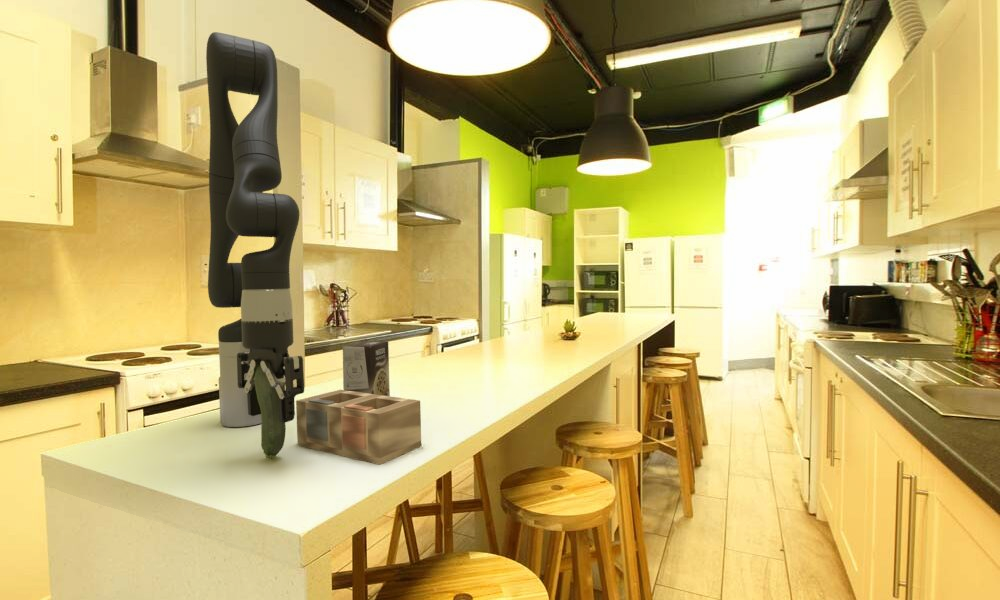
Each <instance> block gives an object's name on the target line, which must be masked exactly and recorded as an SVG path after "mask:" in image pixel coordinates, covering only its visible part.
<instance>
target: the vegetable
mask: <svg viewBox="0 0 1000 600" xmlns="http://www.w3.org/2000/svg"><path fill="white" fill-rule="evenodd" d="M282 378H285V376H283V377H282ZM282 378H281V379H282ZM283 388H284V390H286V386H285V385H283ZM255 389H256V394H257V399H258V403H259V406H260V410H261V419H262V423H261V424H260V425H261V427H260V428H261V430H260V431H261V432H260V433H261V435H260V436H261V444H260V445H261V449H262V451H263V454H264V456H265V459H268V460H273V459H275V458H276V456H277V455H278V454H279V453H280V452H281V451H282V450H283V447H284V444H285V439H286V429H287V428H286V422H285V423H284V422H280V421H279V399H280V398H279V395H278V393H277V391H276V389H275V388H273V387H272V386H271V385H270V382H269V380H268V378H267V376H266V373H265V372H263V370H262V368H261V365H259V367H258V368H257V370H256V373H255Z"/></svg>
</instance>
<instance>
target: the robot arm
mask: <svg viewBox="0 0 1000 600" xmlns="http://www.w3.org/2000/svg"><path fill="white" fill-rule="evenodd" d="M205 54H206V55H205V56H206V57H205V58H206V62H205V63H206V77H207V78H206V79H207V93H208V109H209V130H210V131H209V140H210V141H209V161H208V191H209V192H208V193H209V216H210V217H209V218H210V219H209V220H210V235H209V236H210V237H209V238H210V241H209V258H208V272H207V273H208V275H207V293H208V299H209V302H210V303H211V305H212V306H213V307H214V308H221V309H222V308H223V309H226V308H227V309H229V308H240V317H241V318H240V319H238V320H236V321H233V322H231V323H228V324H225V325H222V326H221V327H220V328H219V329H218V331H217V332H218V334H217V335H218V337H217V338H218V355H219V356H218V358H219V375H220V376H219V377H218V390H219V391H218V393H219V395H218V396H219V397H218V398H219V414H220V415H219V416H220V417H219V418H220V419H219V421H220V423H221V425H222V426H224V427H228V428H242V427H250V426H255V425H258V424H259V425H261V424H262V419H261V410H260V406H259V403H258V399H257V394H256V389H255V373H256V370H257V368H258V367H259V365H261V368H262V370H263V372H265V373H266V376H267V378H268V380H269V382H270V385H271V386H272V387H273V388H275V389H276V391H277V393H278V395H279V398H280V399H279V421H280V422H284V423H285V424H286V423H289V422H291V421H294V419H295V416H296V414H295V413H296V410H295V409H296V408H295V405H296V404H295V397H296V396H298V395H300V394H304V392H305V376H304V375H305V374H304V359H303V356H302V355H295V356H290V354H289V351H288V349H289V347H291V346H292V345H293V344H294V322H293V321H294V319H293V300H292V295H291V289H290V288H291V282H290V262H291V261H290V259H291V252H292V248H293V242H294V240H295V235H296V233H297V229H298V225H299V221H300V208H299V206H298V204H297V202H296V200H295V199H294V198H293V197H292V196H290V195H289V194H285V193H271V192H269V191H273V190H274V189H276V188H277V187H279V186H280V185H281V182H282V166H281V158H280V153H279V146H278V145H279V144H278V105H279V104H278V103H279V102H278V96H279V95H278V92H279V91H278V89H279V88H278V85H279V83H278V65H277V58H276V54H275V52H274V50H273V48H272V46H270V45H269V44H266V43H264V42H262V41H258V40H253V39H250V38H247V37H246V38H245V37H240V36H236V35H233V34H228V33H222V32H216V31H215V32H214V31H213V32H212V33H210V34H209V37H208V39H207V41H206V53H205ZM229 92H234V93H240V94H245V95H251V96H258V97H257V100H256V101H257V102H256V103H255V105H254V106H253V108H252V109H251V110H250V111H249V113H248V114H247V115H246V116H245V117H243V119H242V120H241V122H240V123H238V120H237V119H236V116H235V115H234V112H233V110H232V107H231V103H230V100H229ZM239 236H240V237H247V238H249V237H250V238H251V237H253V238H254V237H255V238H256V237H258V238H275V240H274V242H273V245H272V246H271V247H269V248H268V249H265V250H264V249H263V250H259V251H253V252H252V251H251V252H248V253H246V254H243V256H242V257H241V262H229V258H230V255H231V254H230V253H231V251H232V249H233V246H234V244H235V243H236V241H237V239H238V238H239ZM283 376H284V378H282V377H283ZM281 378H282V379H281ZM294 381H296V386H295V384H294ZM283 385H285V390H284V388H283Z"/></svg>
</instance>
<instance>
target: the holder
mask: <svg viewBox="0 0 1000 600" xmlns="http://www.w3.org/2000/svg"><path fill="white" fill-rule="evenodd" d="M295 405H296V408H295V409H296V410H295V413H296V435H297V436H296V437H297V438H296V439H297V446H300V447H305V448H309V449H313V450H316V451H321V452H325V453H330V454H334V455H337V456H343V457H346V458H347V457H348V458H350V459H355V460H359V461H363V462H368V463H373V464H375V465H382V464H384V463H387V462H389V461H391V460H393V459H396V458H398V457H401V456H402V455H404V454H406V453H409V452H411V451H413V450H416V449H418V448H420V447H422V423H421V422H422V419H421V416H422V415H421V400H419V399H418V400H417V399H413V398H412V399H410V398H405V397H396V396H391V395H390V396H383V395H376V394H369V393H362V392H354V391H347V390H344V389H337V390H333V391H329V392H324V393H320V394H317V395H313V396H309V397H305V398H301V399H296V400H295Z"/></svg>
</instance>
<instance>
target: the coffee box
mask: <svg viewBox="0 0 1000 600" xmlns="http://www.w3.org/2000/svg"><path fill="white" fill-rule="evenodd" d="M389 351H390V350H389V341H388V340H386V341H385V340H383V341H382V340H381V341H380V340H379V341H378V340H377V341H376V340H374V341H359V342H355V343H352V344H348V345H344V346H343V345H342V369H343V370H342V372H343V373H342V376H343V377H342V379H343V380H342V382H343V383H342V385H343V389H342V390H347V391H354V392H362V393H369V394H376V395H383V396H391V395H390V393H391V392H390V389H391V388H390V360H389V359H390V357H389V356H390V355H389V354H390V353H389Z"/></svg>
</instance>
